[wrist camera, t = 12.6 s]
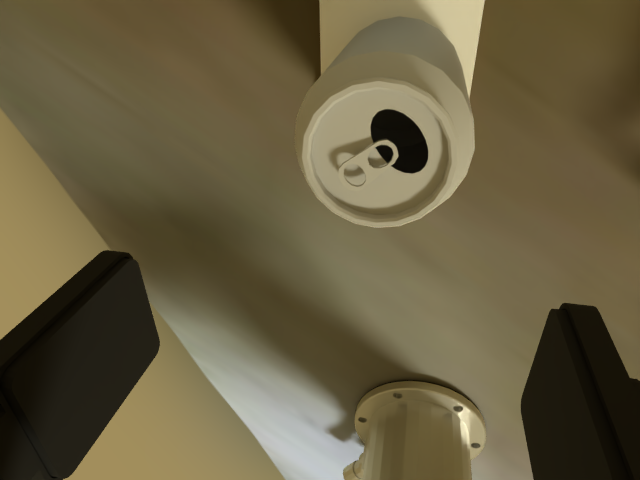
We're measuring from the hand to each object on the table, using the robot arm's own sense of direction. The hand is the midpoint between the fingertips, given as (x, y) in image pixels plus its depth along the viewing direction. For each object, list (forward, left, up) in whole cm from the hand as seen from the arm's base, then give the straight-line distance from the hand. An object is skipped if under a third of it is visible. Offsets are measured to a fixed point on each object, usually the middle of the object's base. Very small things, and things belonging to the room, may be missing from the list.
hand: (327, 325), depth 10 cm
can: (0, 0, -21) cm, 21 cm away
